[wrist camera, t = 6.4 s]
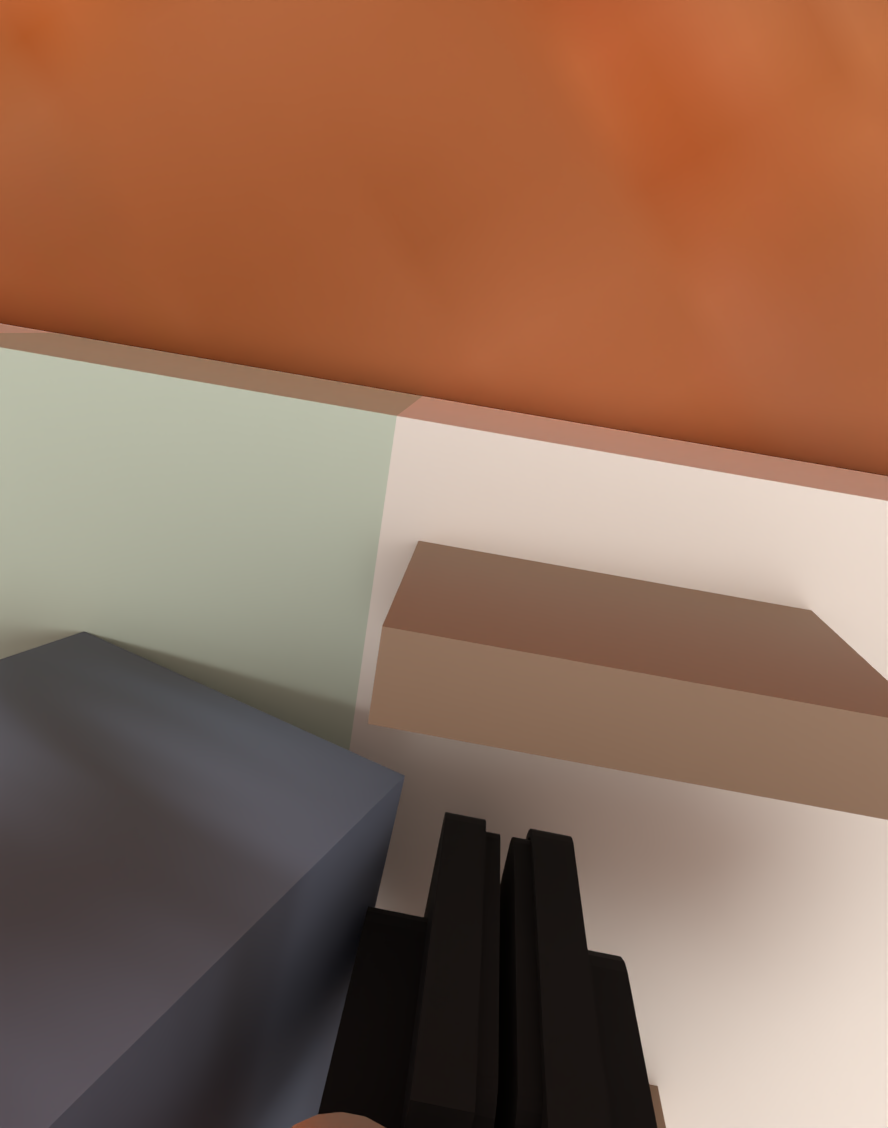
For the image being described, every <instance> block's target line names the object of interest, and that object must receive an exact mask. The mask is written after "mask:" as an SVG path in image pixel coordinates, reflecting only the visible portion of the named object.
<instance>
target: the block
mask: <svg viewBox="0 0 888 1128" xmlns="http://www.w3.org/2000/svg"><path fill="white" fill-rule="evenodd" d="M404 778H405V776H404V775H402V774H400V773H398V772H396V771H393V770H391V769H389V768H387V767H384V766H382V765H380V764H378V763H376V762H373V761H371V760H369V759H367V758H364V757H362V756H360V755H358V754H356V753H353V752H351V751H349V750H347V749H344V748H342V747H340V746H338V745H336V744H333V743H331V742H329V741H327V740H325V739H322V738H320V737H318V736H316V735H313V734H311V733H309V732H307V731H305V730H302V729H300V728H298V727H296V726H293V725H291V724H289V723H287V722H285V721H282V720H280V719H278V718H276V717H274V716H271V715H269V714H267V713H265V712H262V711H260V710H258V709H256V708H254V707H251V706H249V705H247V704H245V703H242V702H240V701H238V700H236V699H234V698H231V697H229V696H227V695H225V694H222V693H220V692H218V691H216V690H214V689H211V688H209V687H207V686H205V685H203V684H200V683H198V682H196V681H194V680H191V679H189V678H187V677H185V676H183V675H180V674H178V673H176V672H174V671H171V670H169V669H167V668H165V667H163V666H160V665H158V664H156V663H154V662H152V661H149V660H147V659H145V658H143V657H140V656H138V655H136V654H134V653H132V652H129V651H127V650H125V649H123V648H120V647H118V646H116V645H114V644H112V643H109V642H107V641H105V640H103V639H100V638H98V637H96V636H94V635H92V634H89V633H87V632H84V631H83V632H80V633H77V634H74V635H71V636H68V637H65V638H62V639H59V640H56V641H53V642H50V643H47V644H44V645H41V646H38V647H35V648H32V649H30V650H27V651H24V652H21V653H18V654H15V655H12V656H9V657H6V658H3V659H0V1128H291V1127H292V1126H293V1125H295V1124H297V1123H299V1122H302V1121H304V1120H306V1119H308V1118H311V1117H313V1116H315V1115H318V1112H319V1108H320V1103H321V1099H322V1095H323V1091H324V1087H325V1083H326V1078H327V1074H328V1070H329V1066H330V1062H331V1058H332V1053H333V1049H334V1045H335V1041H336V1037H337V1033H338V1028H339V1024H340V1020H341V1016H342V1012H343V1007H344V1003H345V999H346V995H347V991H348V987H349V982H350V978H351V974H352V970H353V966H354V962H355V957H356V953H357V949H358V945H359V941H360V937H361V932H362V928H363V924H364V920H365V916H366V912H367V909H368V906H369V907H374V908H375V905H376V901H377V896H378V892H379V887H380V883H381V879H382V874H383V870H384V865H385V861H386V857H387V852H388V848H389V844H390V839H391V835H392V830H393V826H394V822H395V817H396V813H397V808H398V804H399V800H400V795H401V791H402V786H403V782H404Z"/></svg>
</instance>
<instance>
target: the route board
mask: <svg viewBox="0 0 888 1128" xmlns="http://www.w3.org/2000/svg"><path fill="white" fill-rule="evenodd" d="M83 631H84V632H87V633H89V634H92V635H94V636H96V637H98V638H100V639H103V640H105V641H107V642H109V643H112V644H114V645H116V646H118V647H120V648H123V649H125V650H127V651H129V652H132V653H134V654H136V655H138V656H140V657H143V658H145V659H147V660H149V661H152V662H154V663H156V664H158V665H160V666H163V667H165V668H167V669H169V670H171V671H174V672H176V673H178V674H180V675H183V676H185V677H187V678H189V679H191V680H194V681H196V682H198V683H200V684H203V685H205V686H207V687H209V688H211V689H214V690H216V691H218V692H220V693H222V694H225V695H227V696H229V697H231V698H234V699H236V700H238V701H240V702H242V703H245V704H247V705H249V706H251V707H254V708H256V709H258V710H260V711H262V712H265V713H267V714H269V715H271V716H274V717H276V718H278V719H280V720H282V721H285V722H287V723H289V724H291V725H293V726H296V727H298V728H300V729H302V730H305V731H307V732H309V733H311V734H313V735H316V736H318V737H320V738H322V739H325V740H327V741H329V742H331V743H333V744H336V745H338V746H340V747H342V748H344V749H347V750H349V751H351V752H353V753H356V754H358V755H360V756H362V757H364V758H367V759H369V760H371V761H373V762H376V763H378V764H380V765H382V766H384V767H387V768H389V769H391V770H393V771H396V772H398V773H400V774H402V775H404V776H405V778H404V782H403V786H402V791H401V795H400V800H399V804H398V808H397V813H396V817H395V822H394V826H393V830H392V835H391V839H390V844H389V848H388V852H387V857H386V861H385V865H384V870H383V874H382V879H381V883H380V887H379V892H378V896H377V901H376V905H375V908H379V909H384V910H389V911H394V912H399V913H404V914H409V915H414V916H419V917H424V913H425V909H426V904H427V899H428V894H429V889H430V884H431V879H432V874H433V869H434V864H435V859H436V854H437V849H438V844H439V839H440V834H441V829H442V824H443V819H444V815H445V812H449V813H454V814H459V815H464V816H469V817H475V818H480V819H485V820H486V832H491V833H496V834H500V883H501V879H502V874H503V870H504V866H505V861H506V857H507V853H508V849H509V845H510V841H511V838H512V837H517V838H522V839H526V836H527V833H528V831H529V829H530V828H531V829H536V830H541V831H546V832H551V833H557V834H562V835H567V836H571V837H572V839H573V843H574V851H575V858H576V866H577V873H578V881H579V888H580V896H581V903H582V911H583V918H584V926H585V933H586V941H587V948H588V950H591V951H596V952H601V953H606V954H611V955H616V956H621V957H622V959H623V960H624V962H625V965H626V968H627V972H628V976H629V982H630V987H631V992H632V997H633V1003H634V1008H635V1013H636V1018H637V1023H638V1029H639V1034H640V1039H641V1044H642V1049H643V1055H644V1060H645V1065H646V1070H647V1076H648V1081H649V1086H650V1091H651V1096H652V1102H653V1107H654V1112H655V1117H656V1123H657V1128H888V476H883V475H878V474H872V473H866V472H860V471H854V470H849V469H843V468H837V467H831V466H825V465H820V464H814V463H808V462H802V461H796V460H791V459H785V458H779V457H773V456H767V455H762V454H756V453H750V452H744V451H738V450H733V449H727V448H721V447H715V446H709V445H704V444H698V443H692V442H686V441H680V440H674V439H669V438H663V437H657V436H651V435H645V434H640V433H634V432H628V431H622V430H616V429H611V428H605V427H599V426H593V425H587V424H582V423H576V422H570V421H564V420H558V419H553V418H547V417H541V416H535V415H529V414H524V413H518V412H512V411H506V410H500V409H495V408H489V407H483V406H477V405H471V404H465V403H460V402H454V401H448V400H442V399H436V398H431V397H425V396H419V395H413V394H407V393H402V392H396V391H390V390H384V389H378V388H373V387H367V386H361V385H355V384H349V383H344V382H338V381H332V380H326V379H320V378H315V377H309V376H303V375H297V374H291V373H286V372H280V371H274V370H268V369H262V368H256V367H251V366H245V365H239V364H233V363H227V362H222V361H216V360H210V359H204V358H198V357H193V356H187V355H181V354H175V353H169V352H164V351H158V350H152V349H146V348H140V347H135V346H129V345H123V344H117V343H111V342H106V341H100V340H94V339H88V338H82V337H76V336H71V335H65V334H59V333H53V332H47V331H42V330H36V329H30V328H24V327H18V326H13V325H7V324H1V323H0V659H3V658H6V657H9V656H12V655H15V654H18V653H21V652H24V651H27V650H30V649H32V648H35V647H38V646H41V645H44V644H47V643H50V642H53V641H56V640H59V639H62V638H65V637H68V636H71V635H74V634H77V633H80V632H83Z"/></svg>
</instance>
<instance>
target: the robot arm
mask: <svg viewBox="0 0 888 1128" xmlns="http://www.w3.org/2000/svg"><path fill="white" fill-rule="evenodd" d="M291 1128H657V1123H656V1117H655V1112H654V1107H653V1102H652V1096H651V1091H650V1086H649V1081H648V1076H647V1070H646V1065H645V1060H644V1055H643V1049H642V1044H641V1039H640V1034H639V1029H638V1023H637V1018H636V1013H635V1008H634V1003H633V997H632V992H631V987H630V982H629V976H628V972H627V968H626V965H625V962H624V960H623V959H622V957H621V956H616V955H611V954H606V953H601V952H596V951H591V950H588V948H587V941H586V933H585V926H584V918H583V911H582V903H581V896H580V888H579V881H578V873H577V866H576V858H575V851H574V843H573V839H572V837H571V836H567V835H562V834H557V833H551V832H546V831H541V830H536V829H531V828H530V829H529V831H528V833H527V836H526V839H522V838H517V837H512V838H511V841H510V845H509V849H508V853H507V857H506V861H505V866H504V870H503V874H502V879H501V883H500V834H496V833H491V832H486V820H485V819H480V818H475V817H469V816H464V815H459V814H454V813H449V812H445V815H444V819H443V824H442V829H441V834H440V839H439V844H438V849H437V854H436V859H435V864H434V869H433V874H432V879H431V884H430V889H429V894H428V899H427V904H426V909H425V913H424V917H419V916H414V915H409V914H404V913H399V912H394V911H389V910H384V909H379V908H374V907H369V906H368V909H367V912H366V916H365V920H364V924H363V928H362V932H361V937H360V941H359V945H358V949H357V953H356V957H355V962H354V966H353V970H352V974H351V978H350V982H349V987H348V991H347V995H346V999H345V1003H344V1007H343V1012H342V1016H341V1020H340V1024H339V1028H338V1033H337V1037H336V1041H335V1045H334V1049H333V1053H332V1058H331V1062H330V1066H329V1070H328V1074H327V1078H326V1083H325V1087H324V1091H323V1095H322V1099H321V1103H320V1108H319V1112H318V1115H315V1116H313V1117H311V1118H308V1119H306V1120H304V1121H302V1122H299V1123H297V1124H295V1125H293V1126H292V1127H291Z"/></svg>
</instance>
